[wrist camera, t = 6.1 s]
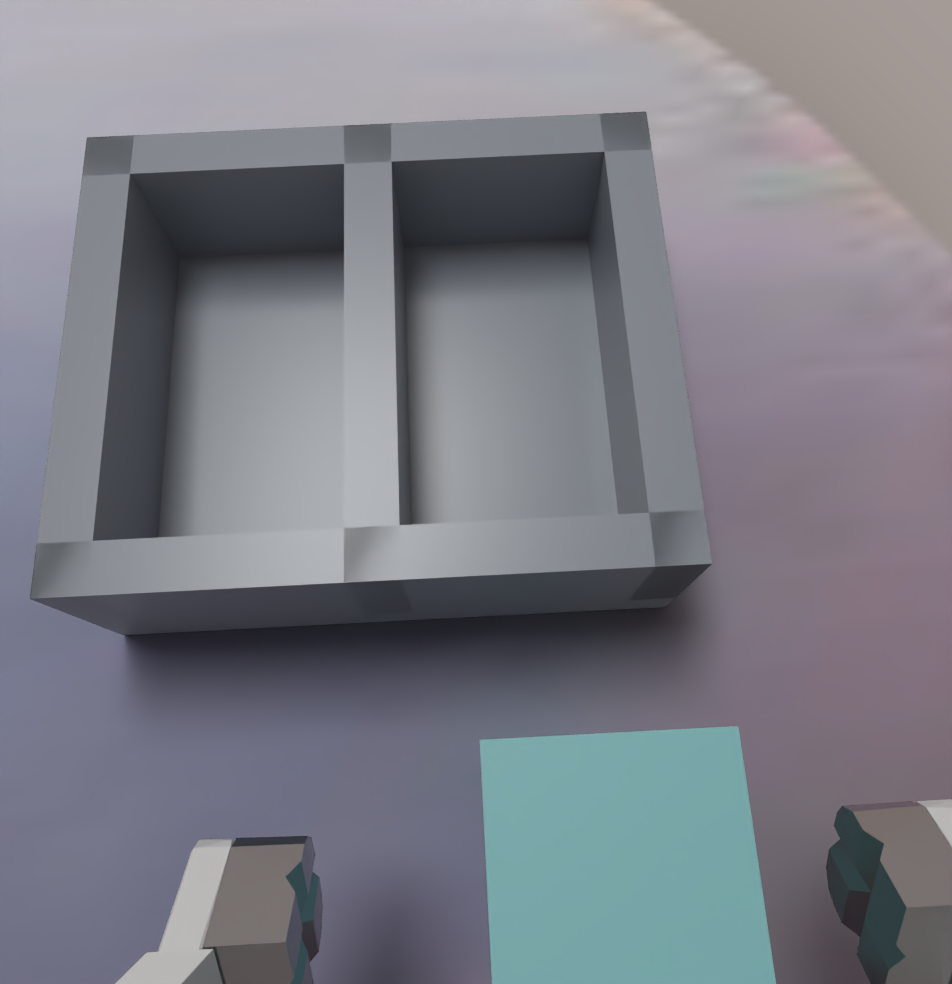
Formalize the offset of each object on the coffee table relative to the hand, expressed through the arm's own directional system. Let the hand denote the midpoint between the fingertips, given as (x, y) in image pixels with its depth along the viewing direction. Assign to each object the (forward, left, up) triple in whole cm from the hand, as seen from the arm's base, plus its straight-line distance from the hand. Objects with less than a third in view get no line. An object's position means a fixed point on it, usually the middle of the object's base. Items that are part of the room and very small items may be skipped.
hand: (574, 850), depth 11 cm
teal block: (0, -1, -6) cm, 6 cm away
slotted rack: (-3, +9, -6) cm, 11 cm away
